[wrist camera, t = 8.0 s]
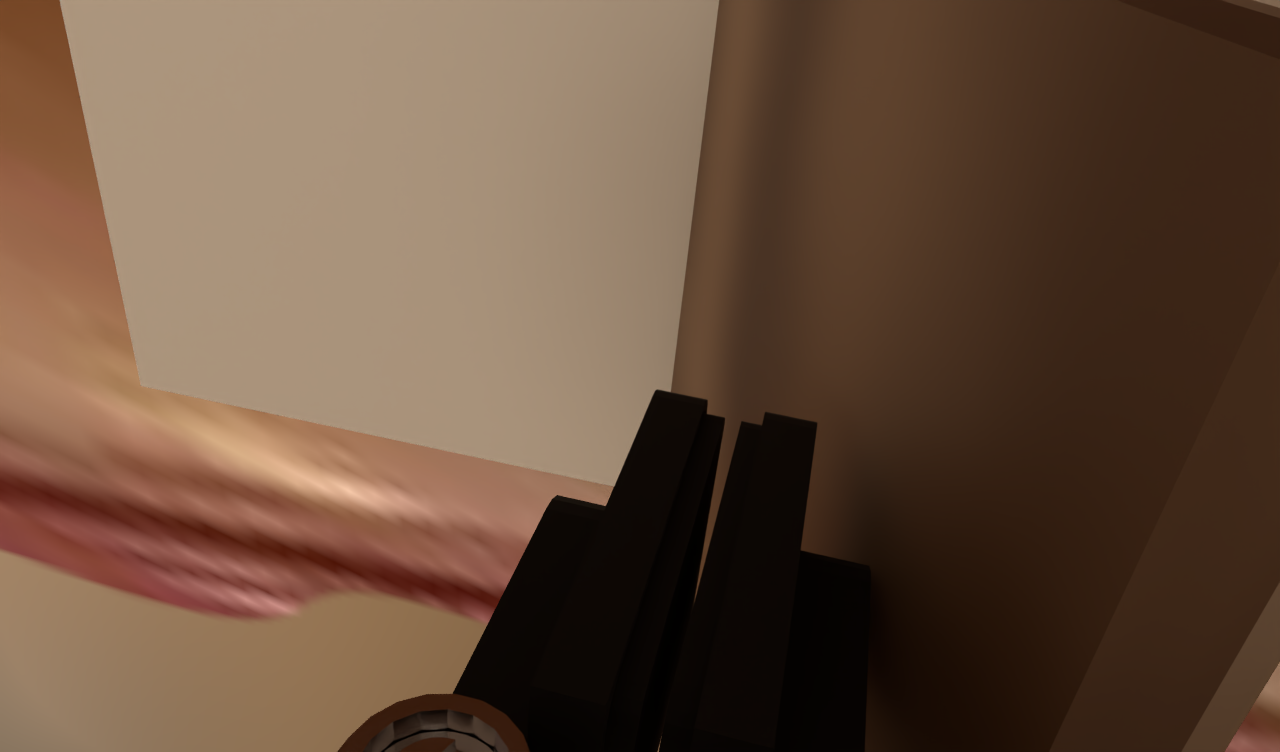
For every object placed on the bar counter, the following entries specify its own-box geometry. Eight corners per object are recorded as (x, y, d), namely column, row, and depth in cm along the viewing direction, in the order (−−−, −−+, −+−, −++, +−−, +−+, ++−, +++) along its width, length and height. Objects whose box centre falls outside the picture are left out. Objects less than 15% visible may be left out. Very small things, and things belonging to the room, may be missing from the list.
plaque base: (1804, -180, 14) (1950, -181, 12) (1317, 609, 22) (1357, 683, 20) (28, -339, 19) (-74, -359, 17) (164, 368, 27) (107, 410, 25)
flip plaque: (736, -137, 16) (807, -131, 16) (662, 455, 22) (714, 456, 22) (1359, 88, 4) (1619, 108, 4) (815, 1249, 10) (925, 1239, 10)
